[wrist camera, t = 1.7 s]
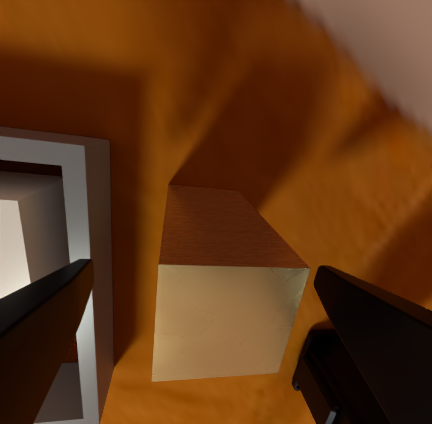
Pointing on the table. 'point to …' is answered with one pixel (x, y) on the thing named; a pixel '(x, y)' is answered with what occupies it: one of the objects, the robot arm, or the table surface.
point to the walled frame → (62, 253)
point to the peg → (222, 288)
